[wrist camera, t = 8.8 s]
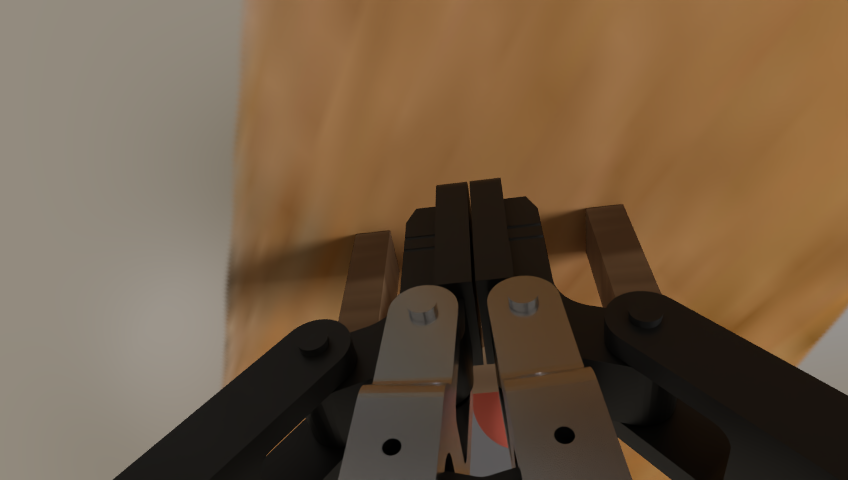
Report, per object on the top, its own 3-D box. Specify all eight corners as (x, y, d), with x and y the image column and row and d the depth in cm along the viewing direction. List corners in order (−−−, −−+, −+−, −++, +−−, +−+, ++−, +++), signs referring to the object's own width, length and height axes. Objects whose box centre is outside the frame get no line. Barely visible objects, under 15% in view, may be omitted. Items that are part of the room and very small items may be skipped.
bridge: (356, 234, 35) (330, 360, 28) (623, 204, 34) (676, 330, 26) (366, 274, 37) (345, 403, 29) (621, 247, 35) (671, 378, 28)
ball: (475, 452, 35) (483, 459, 41) (580, 438, 35) (574, 447, 40) (461, 350, 38) (470, 369, 43) (559, 335, 37) (555, 356, 43)
